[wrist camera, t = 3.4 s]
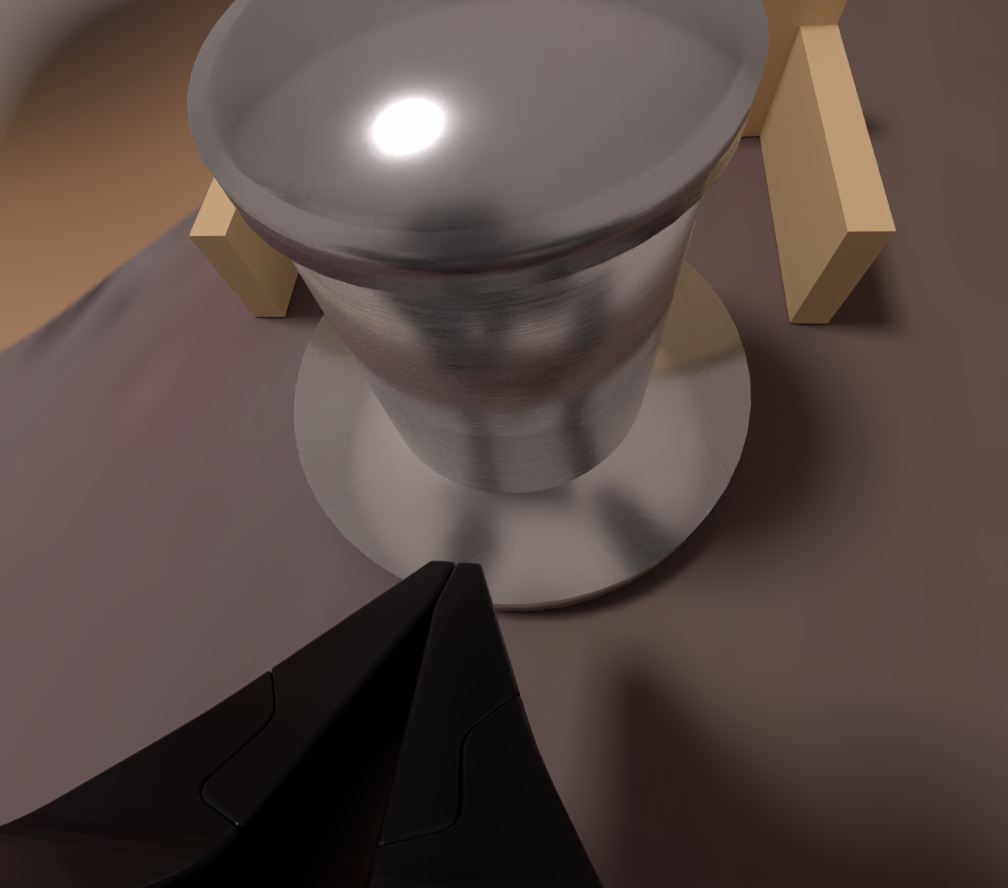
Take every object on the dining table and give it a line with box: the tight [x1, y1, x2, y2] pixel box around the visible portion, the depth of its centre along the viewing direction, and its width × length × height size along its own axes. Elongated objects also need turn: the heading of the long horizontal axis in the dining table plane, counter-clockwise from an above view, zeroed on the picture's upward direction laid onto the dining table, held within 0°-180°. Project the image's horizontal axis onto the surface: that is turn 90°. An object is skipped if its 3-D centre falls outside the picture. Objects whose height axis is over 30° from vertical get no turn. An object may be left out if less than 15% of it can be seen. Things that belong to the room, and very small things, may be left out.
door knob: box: [187, 0, 769, 611], centre depth 13 cm, size 14×14×11 cm
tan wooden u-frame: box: [189, 0, 896, 324], centre depth 19 cm, size 11×20×6 cm, turn 85°
